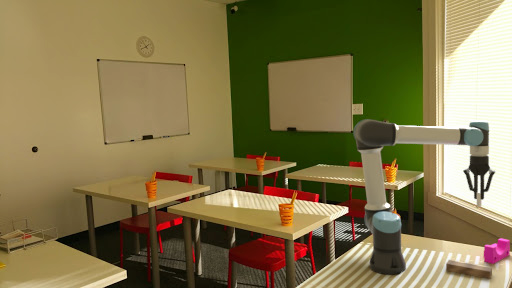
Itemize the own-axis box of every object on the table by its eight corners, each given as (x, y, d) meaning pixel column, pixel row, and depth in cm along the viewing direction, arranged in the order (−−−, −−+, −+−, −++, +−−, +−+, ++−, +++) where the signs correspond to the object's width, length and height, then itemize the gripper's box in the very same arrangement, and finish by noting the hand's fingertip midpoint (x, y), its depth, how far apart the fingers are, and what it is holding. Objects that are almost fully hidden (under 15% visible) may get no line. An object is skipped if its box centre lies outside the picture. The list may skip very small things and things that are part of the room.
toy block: (494, 252, 186) (494, 237, 185) (509, 256, 181) (509, 240, 180) (478, 260, 178) (478, 244, 177) (493, 264, 172) (493, 247, 172)
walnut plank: (446, 270, 168) (446, 263, 168) (448, 266, 172) (448, 259, 172) (490, 278, 158) (490, 271, 158) (491, 274, 162) (491, 267, 162)
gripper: (461, 155, 183) (461, 206, 185) (494, 156, 175) (494, 209, 177) (464, 153, 189) (464, 203, 191) (496, 154, 181) (496, 206, 183)
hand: (479, 206), depth 184 cm, fingers closed
